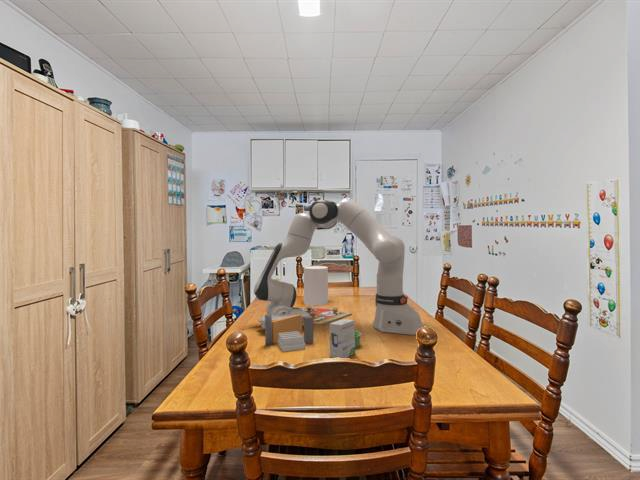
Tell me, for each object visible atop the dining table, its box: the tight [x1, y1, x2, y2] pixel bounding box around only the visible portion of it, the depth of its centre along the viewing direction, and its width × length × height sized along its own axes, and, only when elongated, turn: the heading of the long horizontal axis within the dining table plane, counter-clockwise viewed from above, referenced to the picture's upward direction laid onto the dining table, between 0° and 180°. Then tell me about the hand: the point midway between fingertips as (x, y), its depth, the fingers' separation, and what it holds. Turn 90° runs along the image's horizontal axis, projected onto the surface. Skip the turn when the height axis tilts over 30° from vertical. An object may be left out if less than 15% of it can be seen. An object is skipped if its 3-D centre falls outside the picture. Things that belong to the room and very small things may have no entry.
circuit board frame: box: [264, 313, 314, 353], centre depth 138 cm, size 20×20×12 cm
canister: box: [303, 265, 329, 307], centre depth 209 cm, size 14×14×20 cm
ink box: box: [328, 318, 356, 359], centre depth 127 cm, size 9×5×12 cm, turn 141°
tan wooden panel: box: [272, 314, 303, 345], centre depth 141 cm, size 14×2×8 cm, turn 137°
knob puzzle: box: [301, 305, 353, 326], centre depth 181 cm, size 29×30×4 cm
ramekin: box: [355, 330, 362, 349], centre depth 138 cm, size 9×9×4 cm
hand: (290, 325), depth 145 cm, fingers closed
